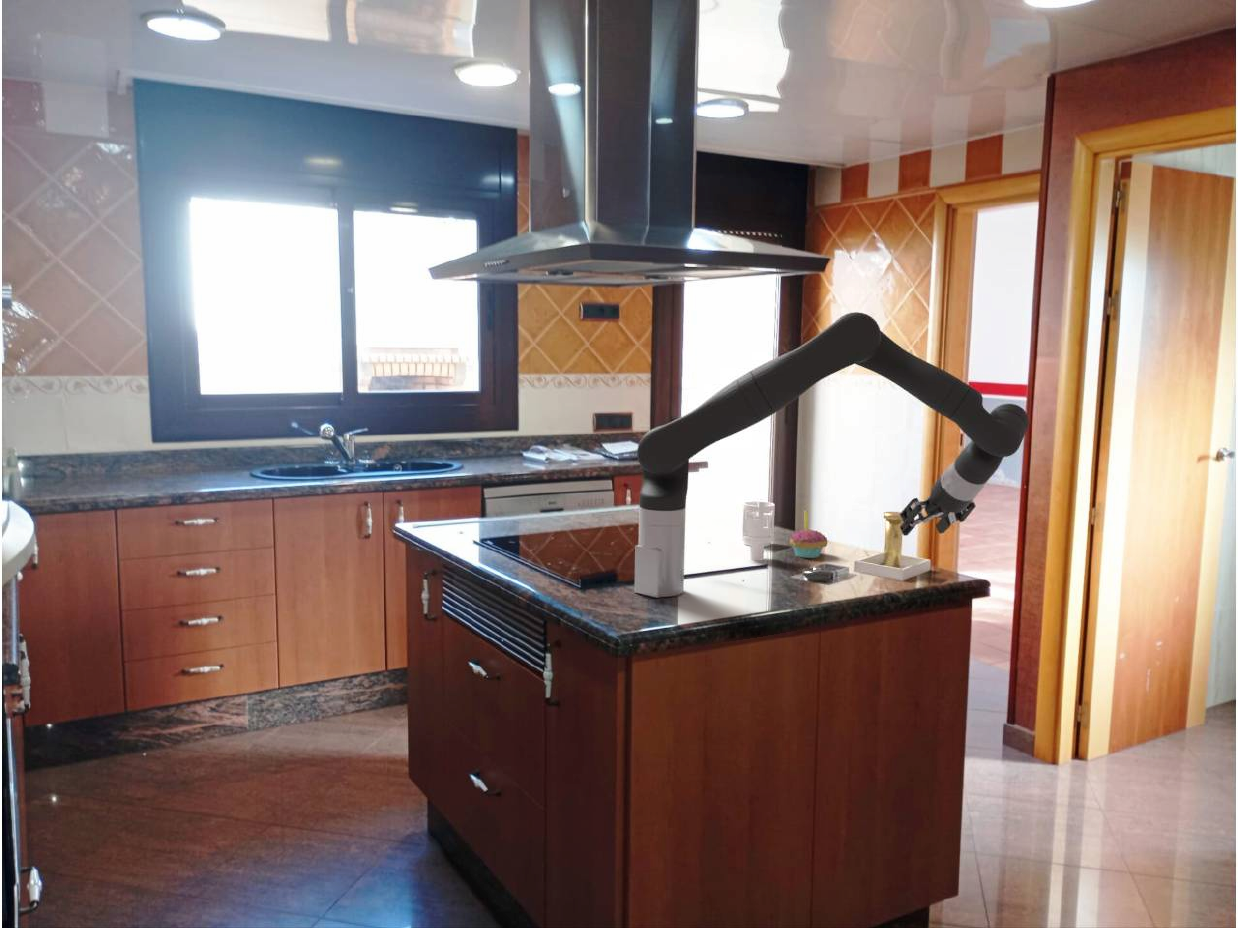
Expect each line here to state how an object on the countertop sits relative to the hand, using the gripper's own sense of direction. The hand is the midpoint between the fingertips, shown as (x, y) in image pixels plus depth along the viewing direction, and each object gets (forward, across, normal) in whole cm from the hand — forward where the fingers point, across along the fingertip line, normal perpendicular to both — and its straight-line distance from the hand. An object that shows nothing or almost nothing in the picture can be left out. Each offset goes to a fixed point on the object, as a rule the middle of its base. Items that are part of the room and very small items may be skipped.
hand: (921, 530), depth 203 cm
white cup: (+41, +14, -24) cm, 50 cm away
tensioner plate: (+15, +17, +2) cm, 22 cm away
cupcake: (+28, +10, -11) cm, 32 cm away
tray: (+15, 0, +2) cm, 15 cm away
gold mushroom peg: (+14, 0, +1) cm, 14 cm away
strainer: (+27, +24, -11) cm, 38 cm away
